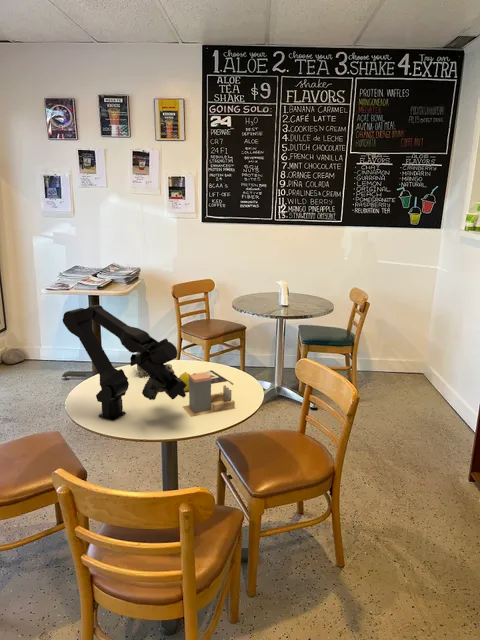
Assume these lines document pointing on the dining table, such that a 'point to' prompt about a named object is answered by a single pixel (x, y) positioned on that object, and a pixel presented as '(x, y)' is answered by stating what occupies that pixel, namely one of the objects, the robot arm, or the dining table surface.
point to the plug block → (200, 392)
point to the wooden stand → (216, 403)
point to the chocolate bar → (215, 377)
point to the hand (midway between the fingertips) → (184, 396)
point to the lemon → (185, 380)
